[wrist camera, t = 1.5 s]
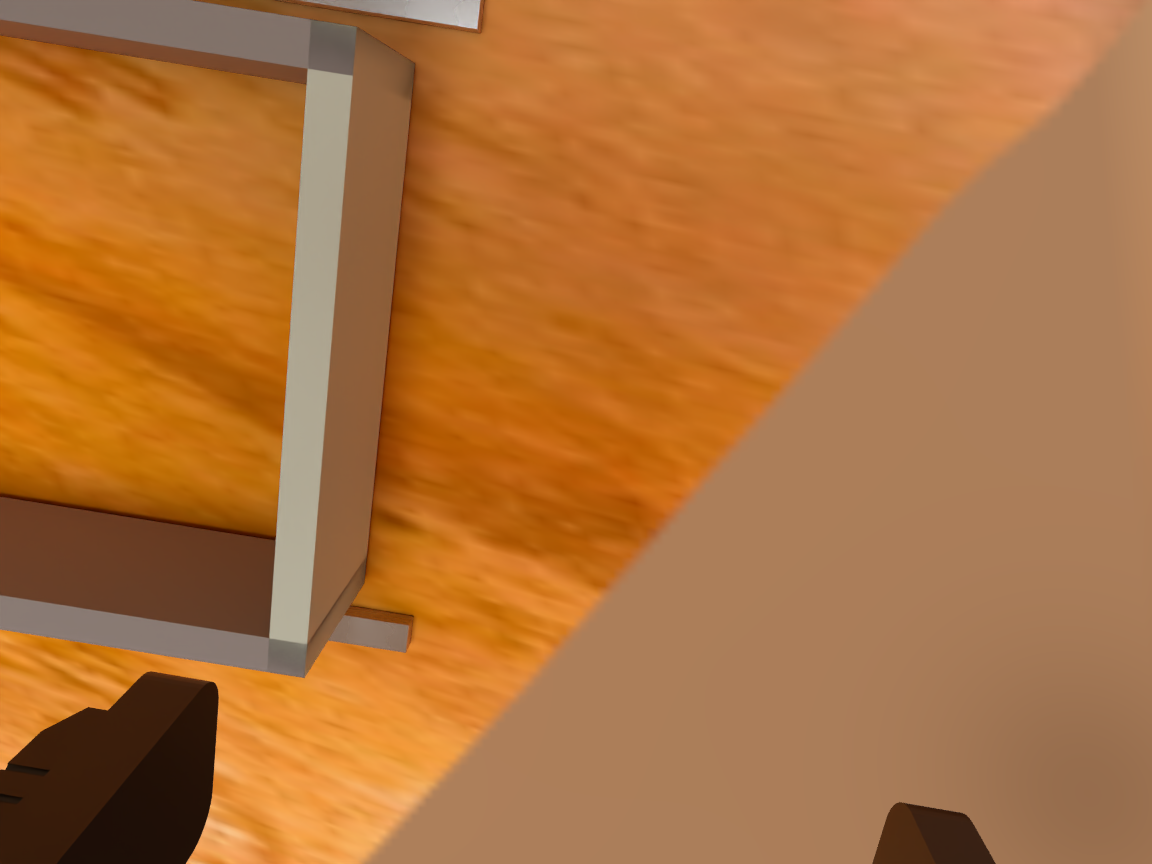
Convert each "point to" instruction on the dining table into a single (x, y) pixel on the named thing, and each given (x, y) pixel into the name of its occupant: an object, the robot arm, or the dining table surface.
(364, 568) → the gray u-shaped wall
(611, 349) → the dining table surface
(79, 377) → the dining table surface
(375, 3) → the rails
